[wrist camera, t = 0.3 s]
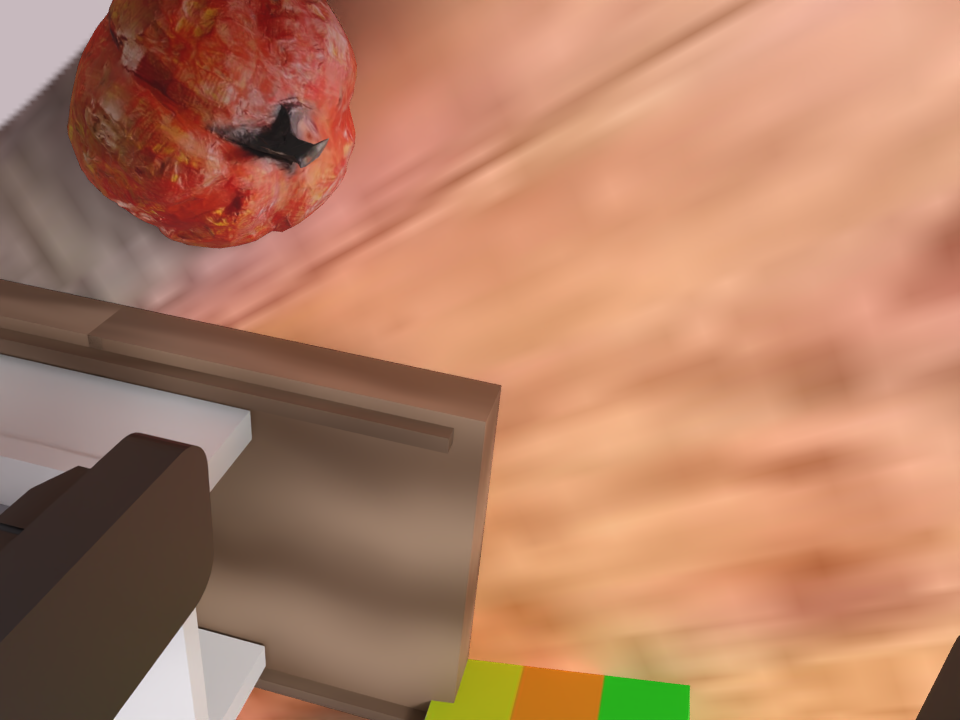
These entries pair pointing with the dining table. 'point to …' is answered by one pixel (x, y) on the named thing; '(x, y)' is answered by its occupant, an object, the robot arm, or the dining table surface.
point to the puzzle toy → (558, 696)
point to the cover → (83, 442)
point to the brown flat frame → (313, 495)
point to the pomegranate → (215, 114)
